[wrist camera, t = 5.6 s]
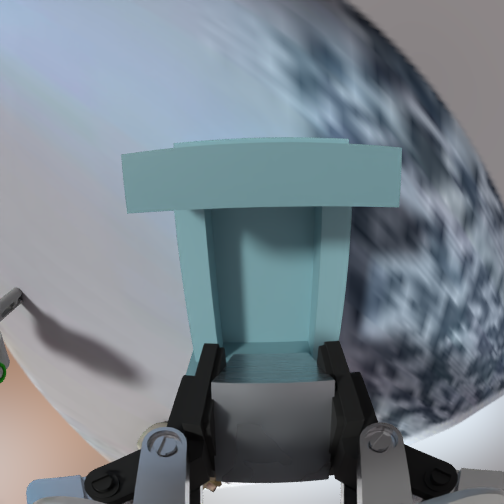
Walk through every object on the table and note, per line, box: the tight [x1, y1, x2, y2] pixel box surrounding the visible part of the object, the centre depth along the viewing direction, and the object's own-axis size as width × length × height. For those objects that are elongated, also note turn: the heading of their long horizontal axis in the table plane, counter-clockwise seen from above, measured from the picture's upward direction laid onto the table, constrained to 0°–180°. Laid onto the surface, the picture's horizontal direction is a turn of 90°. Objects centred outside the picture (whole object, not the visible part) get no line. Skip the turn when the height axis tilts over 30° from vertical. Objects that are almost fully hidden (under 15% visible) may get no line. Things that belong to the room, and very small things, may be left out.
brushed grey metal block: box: [211, 353, 335, 483], centre depth 10 cm, size 4×4×6 cm
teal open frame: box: [121, 137, 402, 376], centre depth 16 cm, size 16×10×8 cm, turn 2°
